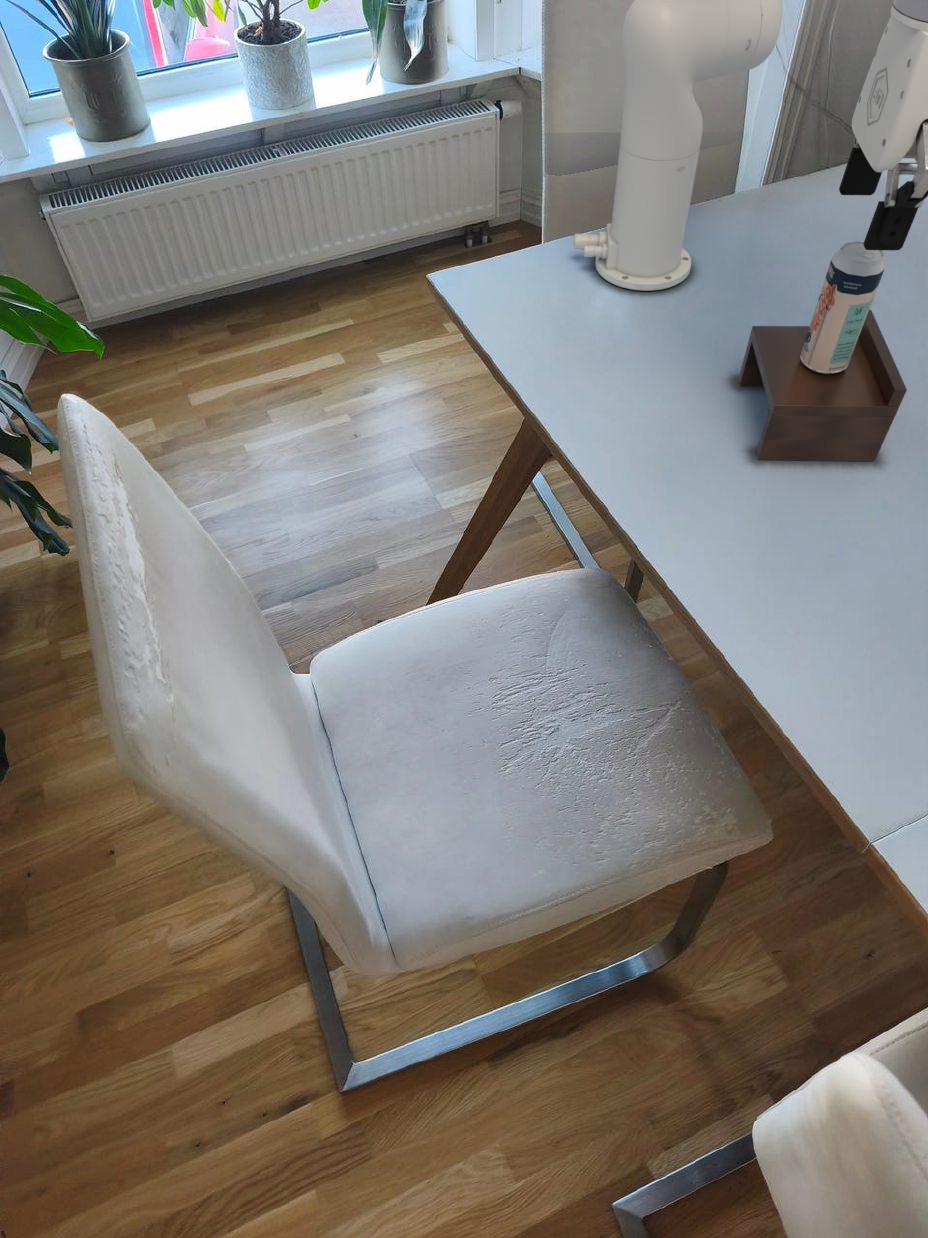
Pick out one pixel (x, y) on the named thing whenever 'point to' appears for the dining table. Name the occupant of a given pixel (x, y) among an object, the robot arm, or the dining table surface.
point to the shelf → (823, 396)
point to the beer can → (842, 307)
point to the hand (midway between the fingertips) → (868, 219)
